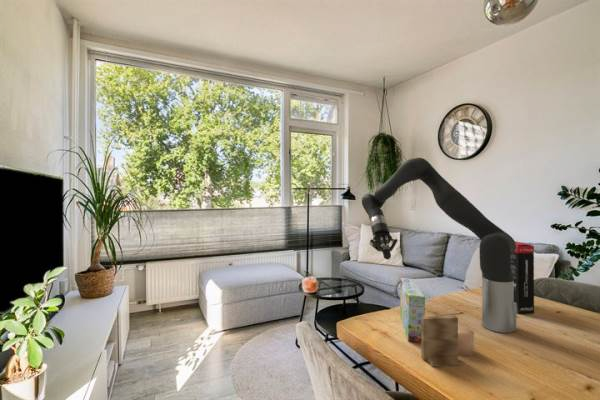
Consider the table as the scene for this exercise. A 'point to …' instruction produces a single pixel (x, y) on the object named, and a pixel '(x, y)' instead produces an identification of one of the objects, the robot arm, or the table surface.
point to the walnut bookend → (440, 340)
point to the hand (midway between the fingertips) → (388, 258)
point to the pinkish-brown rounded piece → (465, 341)
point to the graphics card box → (523, 277)
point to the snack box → (411, 308)
